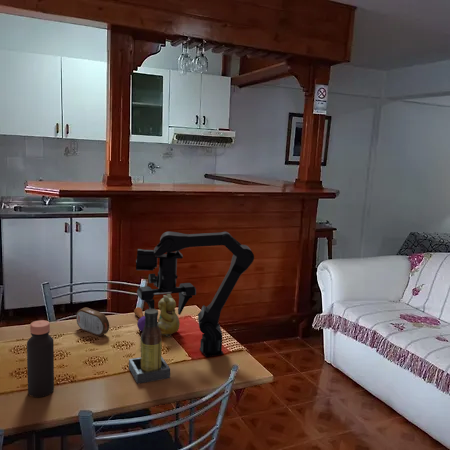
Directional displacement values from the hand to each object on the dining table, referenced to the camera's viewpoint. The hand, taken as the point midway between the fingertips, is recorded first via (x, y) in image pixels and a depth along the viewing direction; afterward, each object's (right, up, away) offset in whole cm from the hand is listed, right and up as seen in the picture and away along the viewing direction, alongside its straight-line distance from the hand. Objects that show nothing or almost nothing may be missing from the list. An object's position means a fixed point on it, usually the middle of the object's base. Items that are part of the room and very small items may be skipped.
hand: (166, 315), depth 156 cm
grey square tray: (-4, -15, -12) cm, 20 cm away
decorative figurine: (-1, -10, +18) cm, 21 cm away
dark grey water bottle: (-32, -16, -25) cm, 44 cm away
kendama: (-12, -8, +25) cm, 29 cm away
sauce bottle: (-3, -15, -13) cm, 20 cm away
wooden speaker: (-29, -9, +15) cm, 34 cm away
